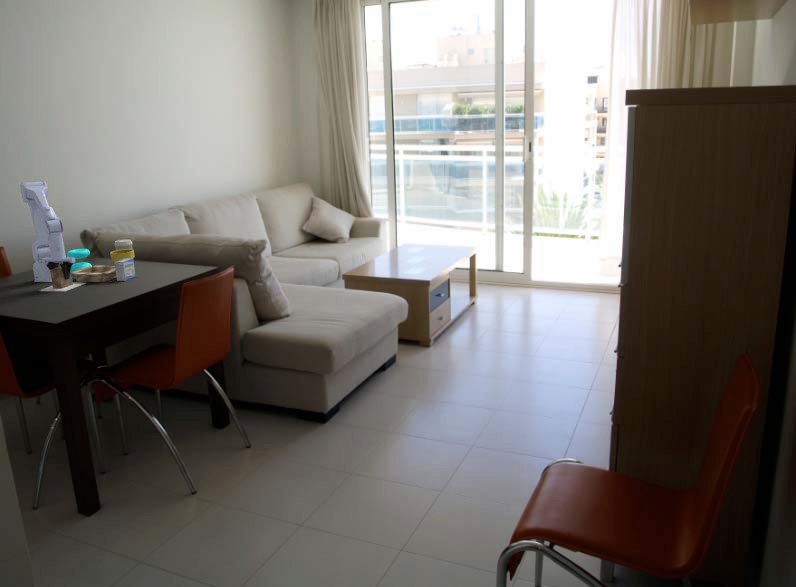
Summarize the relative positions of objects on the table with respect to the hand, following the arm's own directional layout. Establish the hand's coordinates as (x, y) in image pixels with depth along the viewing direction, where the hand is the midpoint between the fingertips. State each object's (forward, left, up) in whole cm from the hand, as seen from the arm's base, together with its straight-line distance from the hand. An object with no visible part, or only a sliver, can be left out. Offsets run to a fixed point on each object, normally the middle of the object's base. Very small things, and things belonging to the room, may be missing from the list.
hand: (62, 279), depth 294 cm
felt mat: (0, 0, -4) cm, 4 cm away
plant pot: (+10, +30, -4) cm, 32 cm away
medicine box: (+20, +16, -4) cm, 26 cm away
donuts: (-14, +31, -4) cm, 34 cm away
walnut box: (0, 0, -3) cm, 3 cm away
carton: (+6, +16, -4) cm, 17 cm away
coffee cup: (+1, +45, -4) cm, 45 cm away
